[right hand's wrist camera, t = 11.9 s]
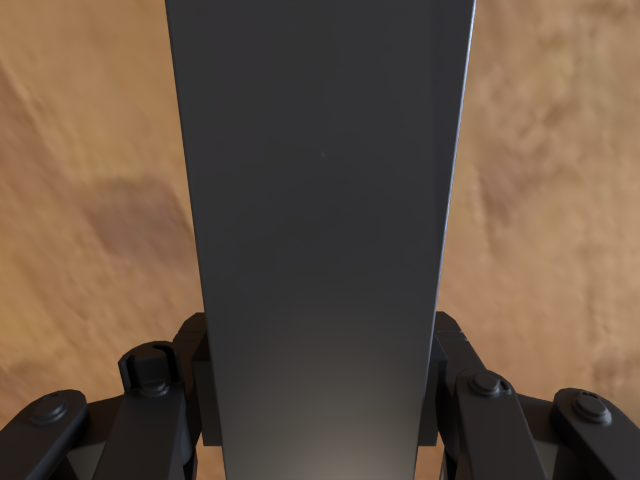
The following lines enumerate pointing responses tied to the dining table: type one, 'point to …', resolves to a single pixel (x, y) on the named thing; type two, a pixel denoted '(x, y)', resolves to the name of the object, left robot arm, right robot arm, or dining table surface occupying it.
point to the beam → (320, 220)
